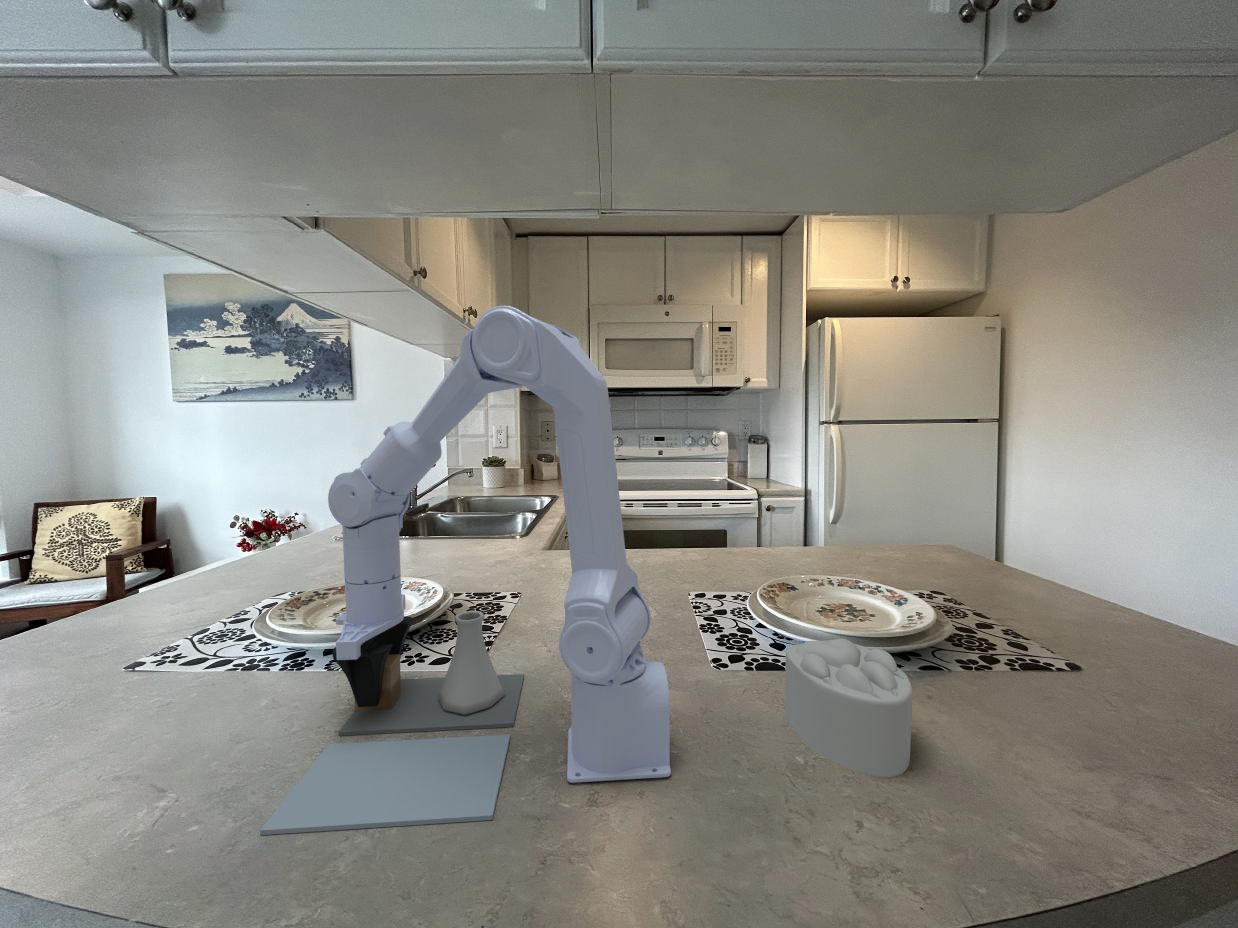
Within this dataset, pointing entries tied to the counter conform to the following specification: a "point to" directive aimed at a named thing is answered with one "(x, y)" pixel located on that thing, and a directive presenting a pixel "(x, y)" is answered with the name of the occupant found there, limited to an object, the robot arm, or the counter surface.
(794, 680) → the lumpy-topped squat cylinder
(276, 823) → the slate mat
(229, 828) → the counter surface
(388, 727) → the charcoal mat
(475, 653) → the flask
